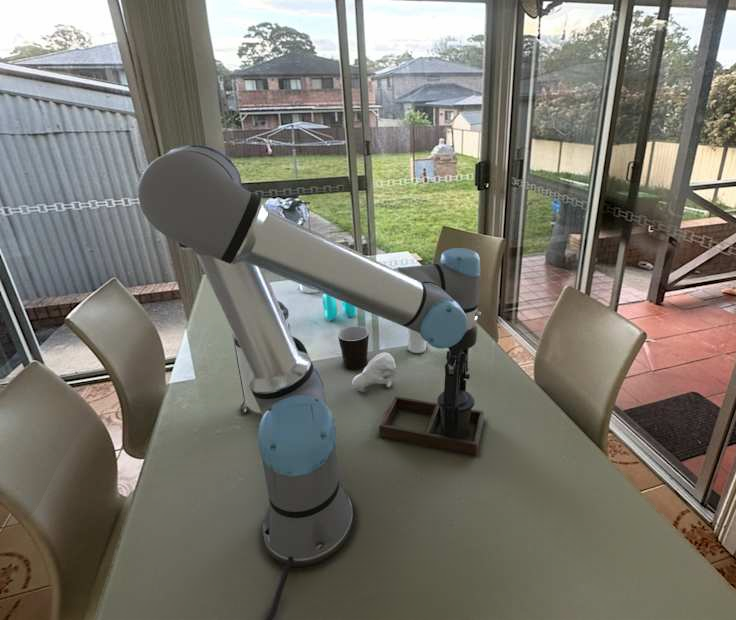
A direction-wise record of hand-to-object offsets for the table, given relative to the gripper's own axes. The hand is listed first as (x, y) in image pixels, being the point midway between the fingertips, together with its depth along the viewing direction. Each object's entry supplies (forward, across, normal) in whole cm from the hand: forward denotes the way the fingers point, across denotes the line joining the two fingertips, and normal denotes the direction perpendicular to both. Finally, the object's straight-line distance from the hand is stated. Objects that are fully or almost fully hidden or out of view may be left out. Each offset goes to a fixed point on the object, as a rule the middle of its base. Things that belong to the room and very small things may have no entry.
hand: (455, 416), depth 97 cm
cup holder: (+5, 0, +5) cm, 7 cm away
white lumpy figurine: (+5, +12, +24) cm, 27 cm away
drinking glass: (+5, +33, +18) cm, 38 cm away
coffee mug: (+5, +22, +33) cm, 40 cm away
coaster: (+5, +68, +72) cm, 99 cm away
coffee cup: (+5, 0, 0) cm, 5 cm away
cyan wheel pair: (+5, +47, +50) cm, 69 cm away
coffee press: (+5, -2, +44) cm, 44 cm away
